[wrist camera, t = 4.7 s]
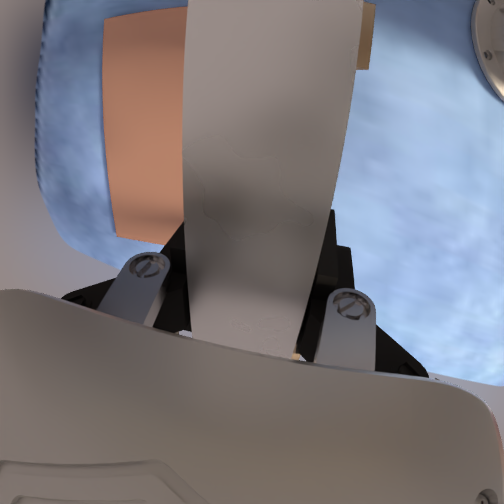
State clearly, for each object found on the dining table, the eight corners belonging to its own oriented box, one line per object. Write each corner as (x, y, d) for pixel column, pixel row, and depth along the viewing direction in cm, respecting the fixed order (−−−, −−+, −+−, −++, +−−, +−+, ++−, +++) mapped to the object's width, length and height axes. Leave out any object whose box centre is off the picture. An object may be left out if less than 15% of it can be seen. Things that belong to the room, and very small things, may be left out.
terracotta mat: (108, 19, 19) (104, 19, 19) (212, 6, 18) (209, 5, 18) (119, 233, 32) (116, 236, 32) (203, 248, 31) (201, 251, 31)
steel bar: (242, -82, 4) (208, -130, 2) (354, -73, 4) (366, -124, 2) (219, 398, 17) (206, 441, 15) (268, 408, 17) (259, 452, 14)
